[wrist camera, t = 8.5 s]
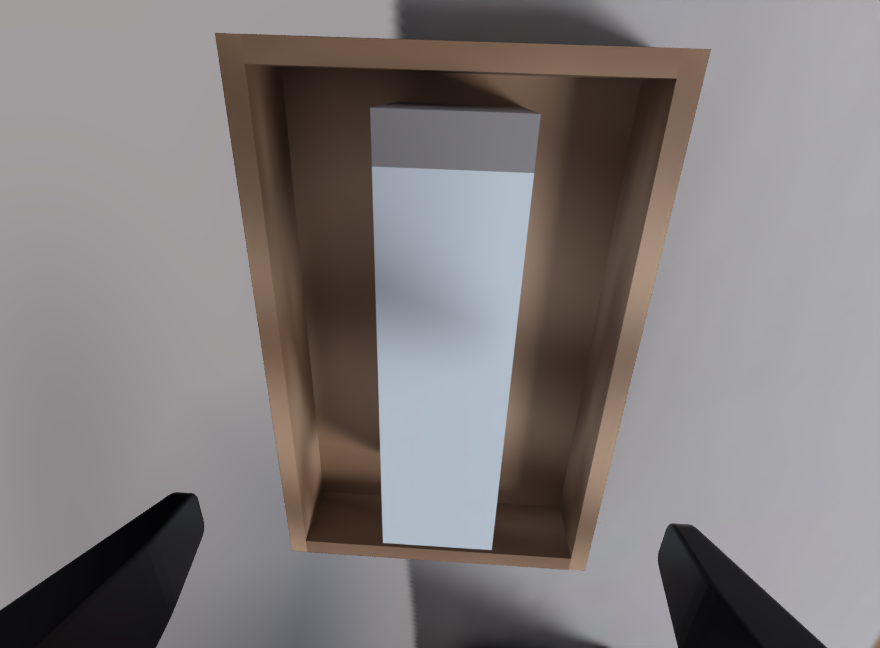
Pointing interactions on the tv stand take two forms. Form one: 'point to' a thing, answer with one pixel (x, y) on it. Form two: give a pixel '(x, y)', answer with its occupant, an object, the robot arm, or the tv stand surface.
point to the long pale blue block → (447, 309)
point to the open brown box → (543, 283)
